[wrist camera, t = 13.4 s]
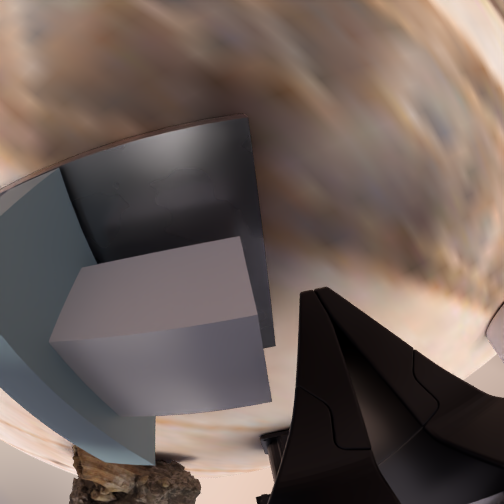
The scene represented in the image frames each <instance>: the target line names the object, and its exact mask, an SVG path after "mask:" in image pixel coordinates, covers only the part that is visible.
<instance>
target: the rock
mask: <svg viewBox="0 0 504 504" xmlns="http://www.w3.org/2000/svg"><path fill="white" fill-rule="evenodd" d="M73 450H74V456H73V460H74V464H73V466H74V467H75V469H76V471H77V474H78V475H79V476H78V477H79V478H78V479H75V478H74V480H73V489H72V493H71V494H70V502H69V504H195V501H196V497H197V496H198V495H199V494H200V490H201V485H200V482H199V480H198V479H194V476H191V474H190V472H187V471H184V466H182V465H181V464H179V463H177V462H176V461H173V460H172V462H171V463H170V464H168V463H166V462H164V461H161V460H160V461H157V462H155V465H131V464H117V463H107V462H104V461H102V460H100V459H98V458H97V457H95V456H93V455H91V454H90V453H88V452H86V451H84V450H83V449H81V448H79V447H78V446H76V445H74V446H73Z"/></svg>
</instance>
